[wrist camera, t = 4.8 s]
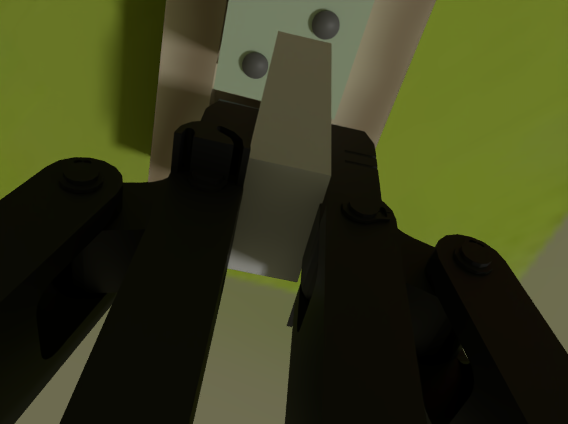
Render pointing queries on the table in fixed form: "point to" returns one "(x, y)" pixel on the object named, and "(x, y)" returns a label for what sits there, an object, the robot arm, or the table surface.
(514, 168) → the table surface
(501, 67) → the table surface
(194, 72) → the wooden block tray
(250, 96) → the tile
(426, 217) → the table surface
